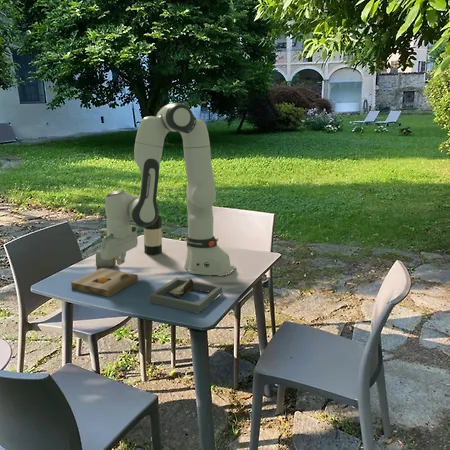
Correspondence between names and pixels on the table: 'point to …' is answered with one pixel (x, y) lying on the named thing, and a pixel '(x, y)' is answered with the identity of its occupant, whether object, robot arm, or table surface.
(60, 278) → the table surface
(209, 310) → the table surface
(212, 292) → the slate dish rim
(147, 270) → the table surface
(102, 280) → the rubber ball
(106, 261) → the ceramic mug
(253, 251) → the table surface
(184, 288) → the rock sample
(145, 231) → the wine bottle
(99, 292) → the board
